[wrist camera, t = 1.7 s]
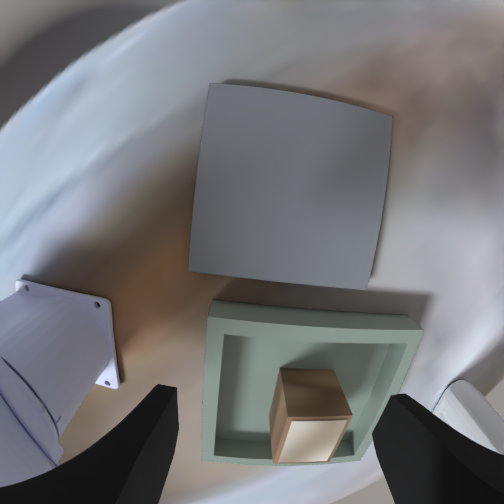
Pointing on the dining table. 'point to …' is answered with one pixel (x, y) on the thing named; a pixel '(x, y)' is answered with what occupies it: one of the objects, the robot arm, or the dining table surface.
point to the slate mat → (288, 187)
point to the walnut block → (307, 416)
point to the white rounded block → (471, 415)
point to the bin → (296, 356)
